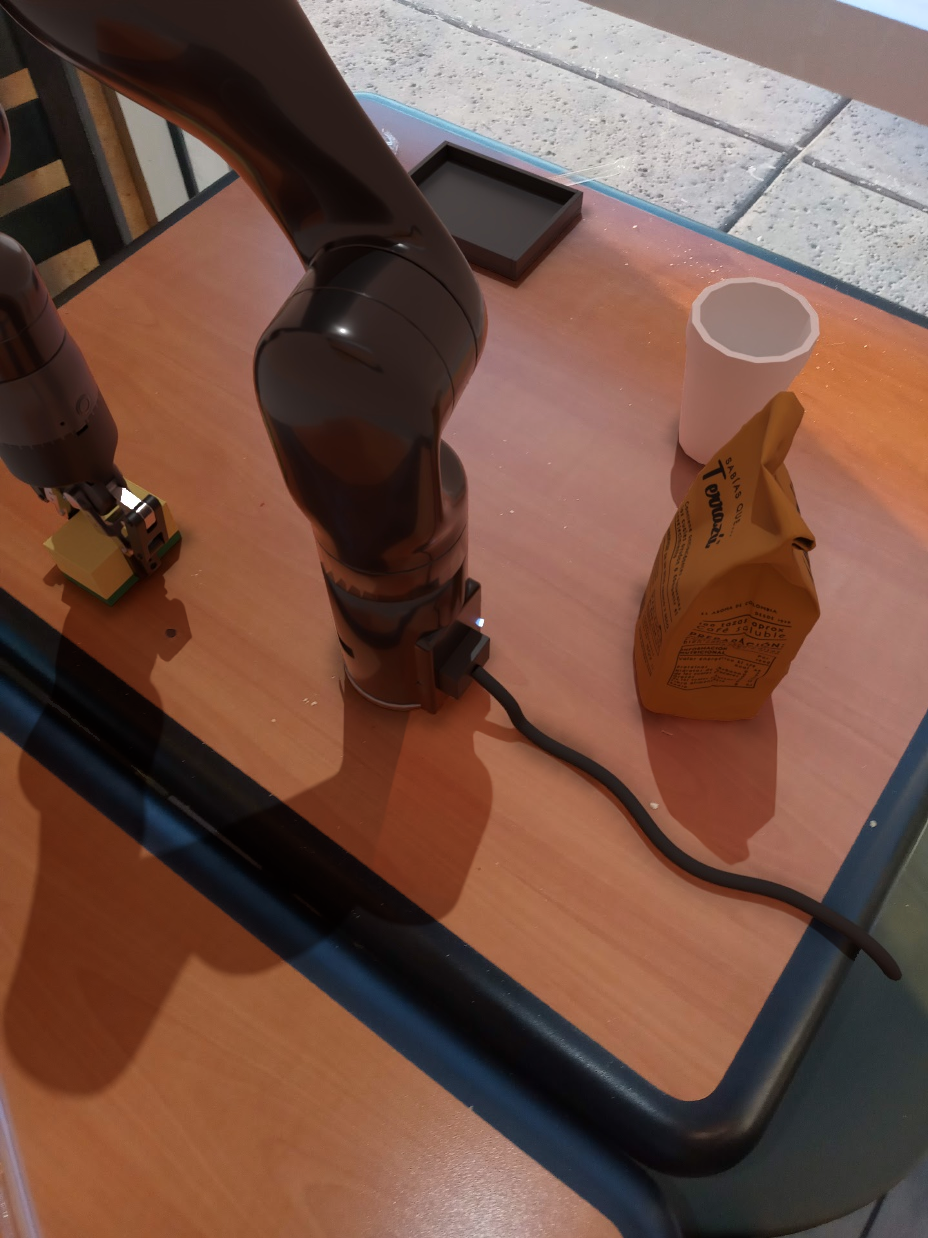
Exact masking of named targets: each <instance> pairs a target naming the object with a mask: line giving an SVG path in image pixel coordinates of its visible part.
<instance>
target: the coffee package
mask: <svg viewBox="0 0 928 1238" xmlns="http://www.w3.org/2000/svg"><path fill="white" fill-rule="evenodd" d="M805 411H806V409H805V408H804V406H803V405H802V403H801V402H800V401H799V399H798V397H797V395H796V394H795V392H794V391H792V390H791V391H787V392H781V391H780V392H779V393H778V394H776V395H775V396H774V397H773V398H772V399H771V400H770V401H769V402H768V403H767V404H766V405H765V406H764V408H763V409H762V410H761V411H760V412H758V413H756V414H755V415H754V416H753V417H752V418H751V419H750V420H749V421H748V422H747V423H746V424H744V425H743V426H742V428H741V429H740V430H739V431H738V432H737V434H736V435H735V436H734V437H733V438H732V439H731V440H730V441H729V442H727V443H726V444H725V445H724V446H723V447H722V448H720V449H719V450H718V451H717V452H716V453H715V454H714V456H713V457H712V458H711V460H710V461H709V462H708V463H707V464H706V465H704V467H703V468H702V469H701V470H699V471H698V473H697V474H696V477H695V479H694V480H693V482H692V483H691V484H690V486H689V488H688V490H687V492H686V495H685V496H684V497H683V499H682V500H681V502H680V504H679V506H678V508H677V510H676V512H675V514H674V516H673V518H672V520H671V522H670V524H669V526H668V527H667V529H666V530H665V533H664V535H663V536H662V539H661V542H660V545H659V546H658V547H659V548H658V550H657V553H656V556H655V559H654V561H653V565H652V567H651V568H652V569H651V571H650V576H649V577H648V578H649V579H648V581H647V585H646V589H645V590H644V592H643V595H642V598H641V602H640V606H639V610H638V616H637V619H636V623H635V625H634V637H633V648H634V661H635V669H636V675H637V676H636V677H637V685H638V690H639V695H640V696H639V697H640V699H641V704H642V706H643V707H644V708H645V709H646V710H648V711H650V712H652V713H655V714H662V715H671V716H676V717H680V718H685V719H689V720H700V721H710V720H712V721H714V720H715V721H721V722H723V721H725V722H727V721H728V722H730V721H731V722H732V721H739V720H751V719H754V718H756V717H757V716H758V714H759V713H760V711H761V709H762V707H763V706H764V704H765V703H766V701H767V700H768V699H769V698H770V697H771V696H772V695H773V692H774V690H775V689H776V688H777V687H778V685H780V683H781V682H782V680H783V679H784V678H785V677H786V676H787V675H788V674H789V671H790V667H791V664H792V662H793V661H794V660H795V659H796V657H797V655H798V653H799V651H800V650H801V648H802V646H803V644H804V642H805V640H806V639H807V636H808V635H809V634H810V633H811V632H812V630H813V628H814V627H815V626H816V624H817V622H818V621H819V619H820V617H821V608H820V607H821V606H820V602H819V597H818V593H817V589H816V585H815V580H814V577H813V573H812V566H811V560H810V554H809V552H812V551H813V550H814V549H815V548H816V547H817V541H816V537H815V535H814V533H813V532H812V531H811V529H810V528H809V526H808V525H807V523H806V521H805V520H804V519H803V517H802V515H801V514H802V513H801V510H800V506H799V503H798V500H797V495H796V491H795V487H794V483H793V481H792V478H791V475H790V473H789V470H788V468H787V466H786V465H785V463H784V461H785V460H786V458H787V455H788V454H789V452H790V451H791V447H792V444H793V442H794V438H795V435H796V433H797V431H798V429H799V428H800V425H801V423H802V420H803V418H804V415H805Z"/></svg>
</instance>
